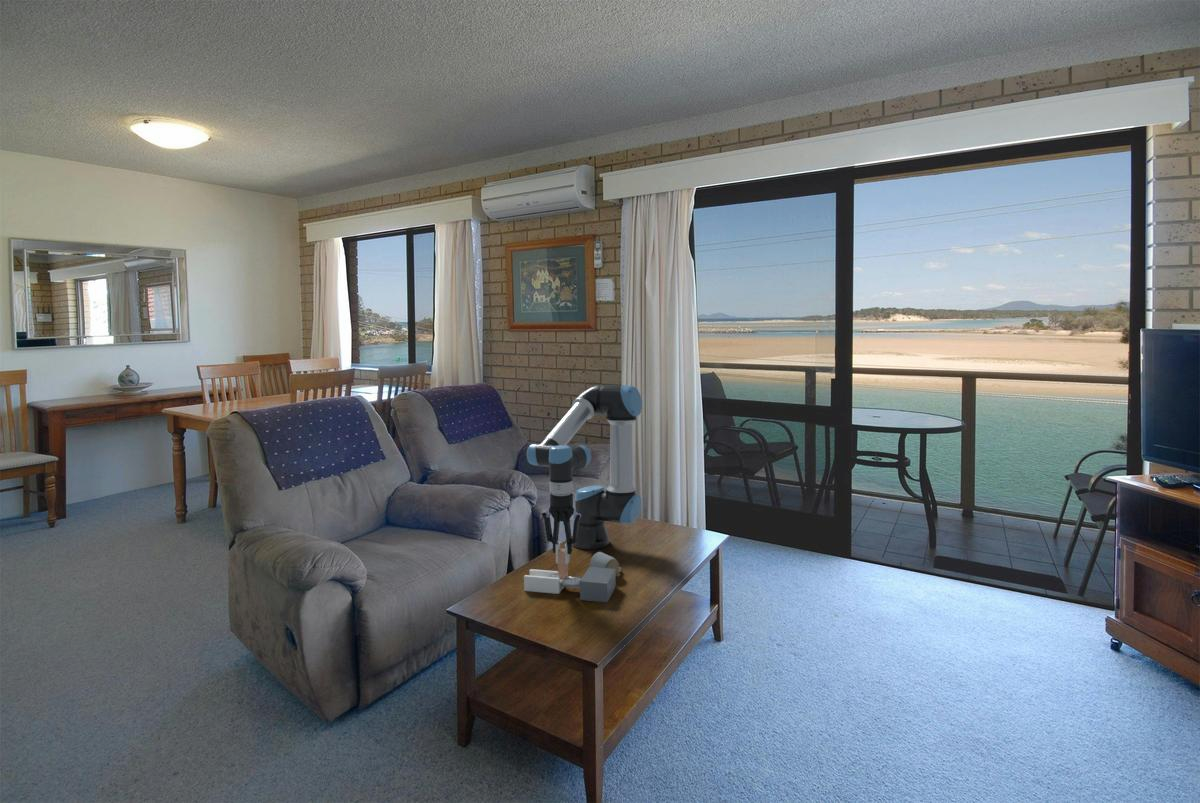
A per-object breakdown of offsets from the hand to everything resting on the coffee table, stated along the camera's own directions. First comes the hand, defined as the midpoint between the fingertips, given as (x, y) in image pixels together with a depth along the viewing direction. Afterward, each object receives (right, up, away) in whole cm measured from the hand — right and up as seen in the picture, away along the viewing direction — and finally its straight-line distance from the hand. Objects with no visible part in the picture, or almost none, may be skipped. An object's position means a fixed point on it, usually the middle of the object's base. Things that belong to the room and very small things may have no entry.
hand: (562, 562), depth 203 cm
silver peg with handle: (+3, -8, 0) cm, 9 cm away
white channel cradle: (-6, -9, +3) cm, 12 cm away
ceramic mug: (+15, -8, +14) cm, 22 cm away
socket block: (+11, -10, -2) cm, 15 cm away
